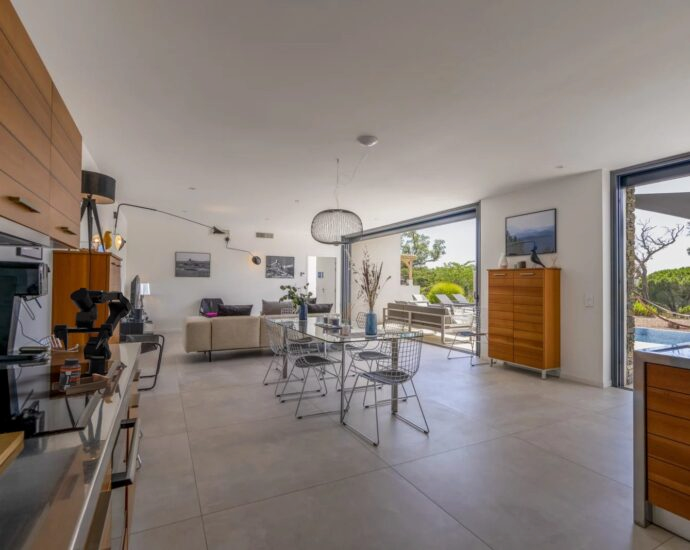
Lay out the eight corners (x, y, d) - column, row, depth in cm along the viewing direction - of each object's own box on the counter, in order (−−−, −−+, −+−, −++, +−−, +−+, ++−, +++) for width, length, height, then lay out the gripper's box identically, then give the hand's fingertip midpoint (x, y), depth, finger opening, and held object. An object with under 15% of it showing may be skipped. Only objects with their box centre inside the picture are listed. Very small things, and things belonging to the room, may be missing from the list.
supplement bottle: (70, 393, 128) (73, 361, 129) (54, 392, 128) (56, 360, 129) (83, 389, 134) (85, 358, 135) (67, 388, 134) (69, 357, 135)
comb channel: (51, 390, 131) (52, 380, 131) (94, 382, 144) (95, 373, 144) (66, 395, 126) (67, 384, 126) (109, 386, 139) (110, 377, 139)
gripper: (55, 303, 137) (46, 338, 128) (113, 303, 146) (109, 336, 136) (59, 320, 145) (51, 355, 135) (114, 320, 153) (110, 352, 144)
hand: (81, 349), depth 137 cm, fingers open, 9 cm apart
